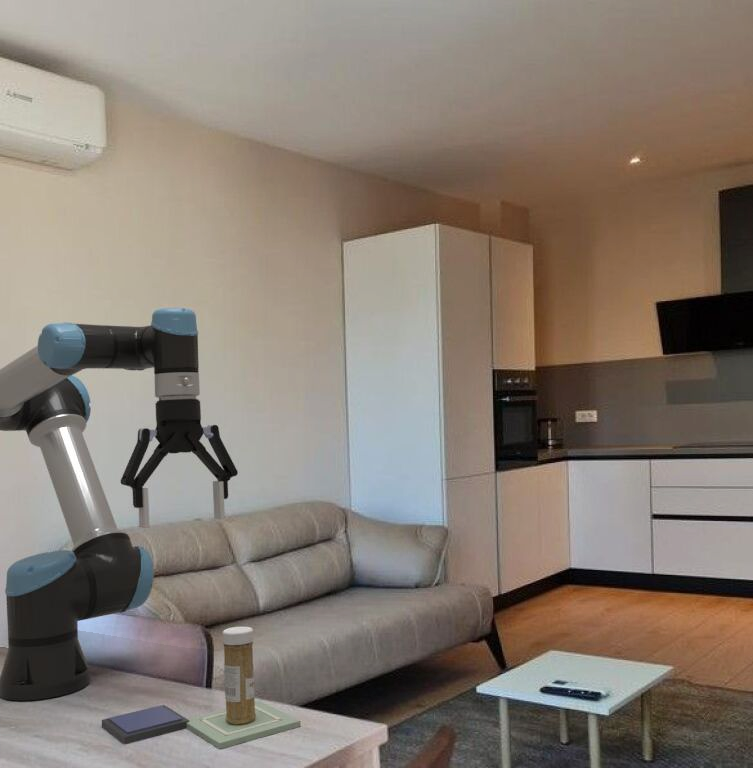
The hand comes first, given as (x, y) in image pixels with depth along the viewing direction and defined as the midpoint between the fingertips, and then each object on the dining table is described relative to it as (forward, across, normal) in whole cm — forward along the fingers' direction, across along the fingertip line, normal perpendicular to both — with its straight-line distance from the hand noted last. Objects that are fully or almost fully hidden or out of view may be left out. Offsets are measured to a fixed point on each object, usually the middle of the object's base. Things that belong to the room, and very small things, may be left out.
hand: (182, 523), depth 150 cm
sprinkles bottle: (+28, -1, -21) cm, 35 cm away
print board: (+29, -1, -21) cm, 35 cm away
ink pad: (+29, -12, -11) cm, 33 cm away
